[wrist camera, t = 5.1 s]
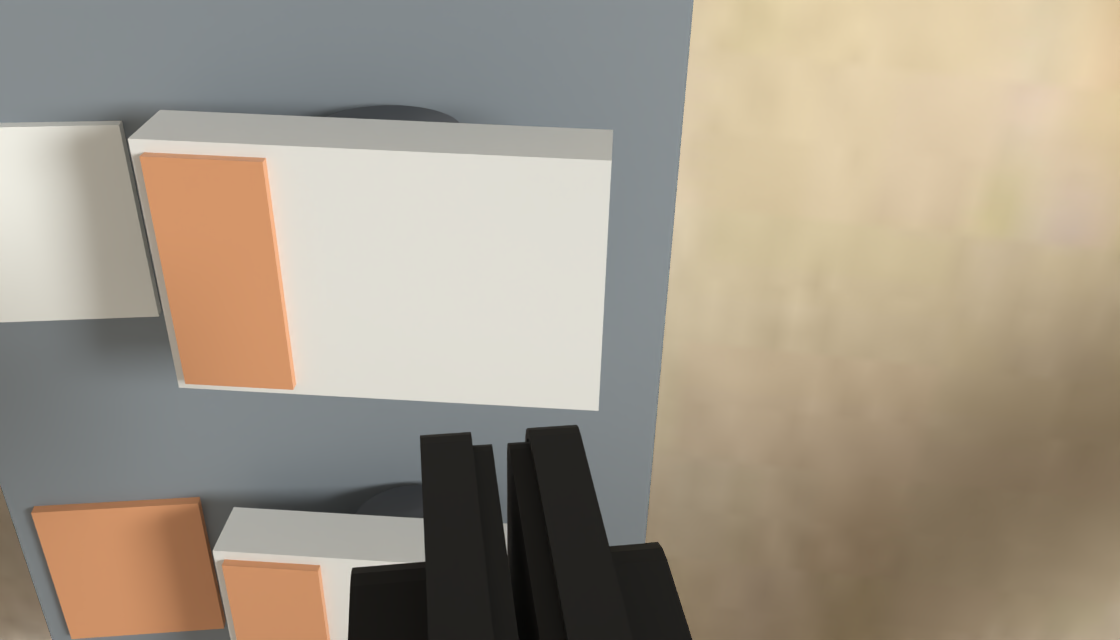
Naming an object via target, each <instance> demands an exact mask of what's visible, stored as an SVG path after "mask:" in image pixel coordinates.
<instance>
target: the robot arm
mask: <svg viewBox="0 0 1120 640" xmlns="http://www.w3.org/2000/svg"><path fill="white" fill-rule="evenodd" d="M420 452H421V475H422V499H423V522H424V545H425V562H414V563H402V564H390V565H378V566H366V567H354V568H352V571H351V579H350V599H349V623H348V640H692V638H691V634H690V631H689V628H688V625H687V622H686V619H685V615H684V612H683V609H682V606H681V603H680V600H679V596H678V593H677V590H676V587H675V584H674V581H673V577H672V574H671V571H670V568H669V565H668V562H667V559H666V556H665V554H664V551H663V549H662V547H661V546H660V544H659V543H658V542H654V543H642V544H630V545H618V546H609V543H608V539H607V535H606V531H605V527H604V523H603V519H602V515H601V511H600V508H599V504H598V500H597V496H596V492H595V488H594V484H593V480H592V476H591V472H590V468H589V464H588V461H587V457H586V453H585V449H584V445H583V441H582V437H581V433H580V430H579V427H578V426H577V425H564V426H550V427H535V428H527V429H526V434H525V442H515V443H508V444H507V549H506V542H505V534H504V527H503V520H502V512H501V505H500V498H499V491H498V483H497V476H496V469H495V461H494V454H493V447H492V444H486V445H473V444H472V436H471V432H461V433H446V434H431V435H420Z"/></svg>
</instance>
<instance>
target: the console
mask: <svg viewBox="0 0 1120 640" xmlns="http://www.w3.org/2000/svg"><path fill="white" fill-rule="evenodd" d="M692 11H693V0H0V486H1V489H2V492H3V495H4V498H5V501H6V504H7V507H8V509H9V512H10V515H11V518H12V521H13V524H14V527H15V530H16V533H17V536H18V539H19V542H20V545H21V548H22V551H23V554H24V557H25V560H26V563H27V566H28V569H29V572H30V575H31V578H32V581H33V584H34V587H35V590H36V593H37V596H38V599H39V602H40V605H41V608H42V611H43V614H44V617H45V620H46V623H47V626H48V629H49V632H50V635H51V638H52V640H231V638H230V634H229V629H228V624H227V619H226V614H225V609H224V604H223V600H222V595H221V590H220V585H219V580H218V575H217V570H216V566H215V561H214V556H213V549H214V546H215V544H216V542H217V540H218V538H219V536H220V534H221V532H222V530H223V528H224V526H225V524H226V522H227V520H228V518H229V516H230V514H231V512H232V510H233V508H234V507H241V508H257V509H274V510H291V511H307V512H324V513H341V514H355V513H356V512H357V510H358V509H359V508H360V507H361V506H362V505H363V504H364V503H365V502H366V501H368V500H369V499H371V498H372V497H374V496H376V495H377V494H379V493H382V492H384V491H387V490H390V489H393V488H397V487H401V486H408V485H422V475H421V452H420V435H431V434H446V433H461V432H471V436H472V444H473V445H486V444H492V447H493V454H494V461H495V469H496V476H497V483H498V491H499V498H500V505H501V512H502V520H503V523H507V444H508V443H515V442H525V434H526V429H527V428H535V427H550V426H564V425H577V426H578V427H579V430H580V433H581V437H582V441H583V445H584V449H585V453H586V457H587V461H588V464H589V468H590V472H591V476H592V480H593V484H594V488H595V492H596V496H597V500H598V504H599V508H600V511H601V515H602V519H603V523H604V527H605V531H606V535H607V539H608V543H609V546H618V545H630V544H642V543H645V539H646V528H647V517H648V505H649V494H650V483H651V472H652V461H653V449H654V438H655V427H656V416H657V404H658V393H659V382H660V371H661V359H662V348H663V337H664V326H665V315H666V303H667V292H668V281H669V270H670V258H671V247H672V236H673V225H674V213H675V202H676V191H677V180H678V169H679V157H680V146H681V135H682V124H683V112H684V101H685V90H686V79H687V67H688V56H689V45H690V34H691V22H692ZM379 105H403V106H415V107H422V108H427V109H432V110H436V111H439V112H442V113H445V114H447V115H449V116H451V117H453V118H455V119H456V120H457V121H458V122H459V123H469V124H492V125H514V126H537V127H559V128H582V129H604V130H613V144H612V164H611V183H610V202H609V221H608V240H607V259H606V278H605V297H604V316H603V335H602V354H601V373H600V392H599V411H592V410H574V409H556V408H538V407H520V406H502V405H484V404H466V403H447V402H429V401H411V400H393V399H375V398H357V397H339V396H321V395H303V394H285V393H267V392H249V391H231V390H213V389H194V388H179V385H178V380H177V376H176V371H175V366H174V361H173V356H172V351H171V346H170V342H169V337H168V332H167V327H166V322H165V317H164V312H163V308H162V303H161V298H160V293H159V288H158V283H157V278H156V274H155V269H154V264H153V259H152V254H151V249H150V244H149V240H148V235H147V230H146V225H145V220H144V215H143V210H142V206H141V201H140V196H139V191H138V186H137V181H136V176H135V172H134V167H133V162H132V157H131V152H130V147H129V142H128V138H129V137H130V136H131V135H132V134H133V133H135V132H136V131H137V130H138V129H139V128H140V127H141V126H142V125H144V124H145V123H146V122H147V121H148V120H149V119H150V118H151V117H153V116H154V115H155V114H156V113H157V112H158V111H159V110H176V111H199V112H221V113H244V114H266V115H289V116H311V117H326V116H328V115H331V114H334V113H337V112H341V111H344V110H349V109H354V108H360V107H367V106H379Z"/></svg>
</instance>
